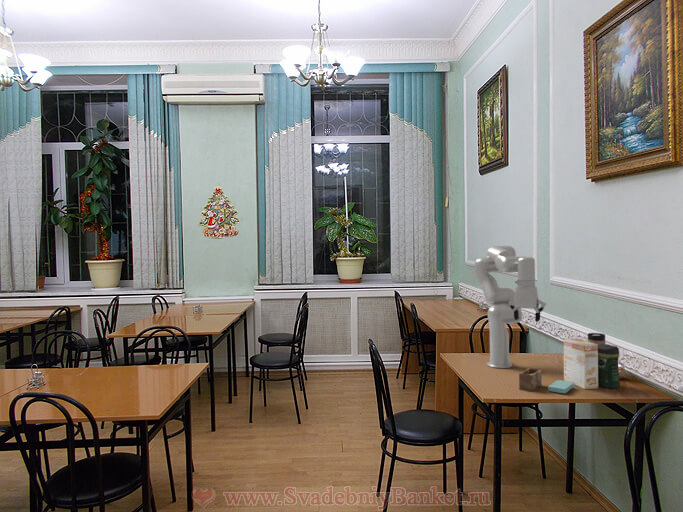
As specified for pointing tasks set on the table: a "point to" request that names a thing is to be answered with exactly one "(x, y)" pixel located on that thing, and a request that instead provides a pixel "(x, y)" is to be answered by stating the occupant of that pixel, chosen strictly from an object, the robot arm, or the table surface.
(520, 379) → the tea box
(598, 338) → the travel mug
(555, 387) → the lid
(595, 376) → the coffeecake box
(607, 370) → the coffee jar
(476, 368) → the table surface
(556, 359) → the table surface
